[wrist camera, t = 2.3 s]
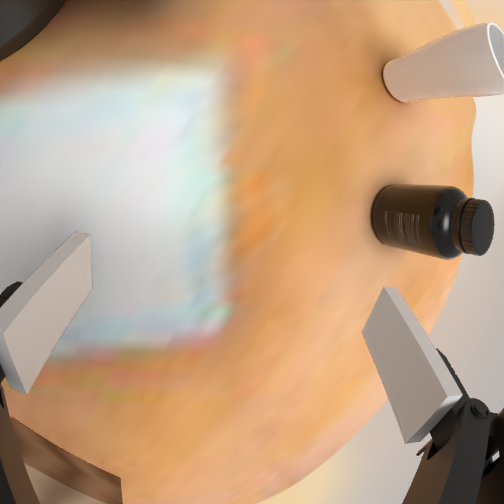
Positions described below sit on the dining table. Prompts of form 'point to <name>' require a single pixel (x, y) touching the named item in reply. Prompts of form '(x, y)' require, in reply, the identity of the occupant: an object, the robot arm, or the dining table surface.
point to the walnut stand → (63, 473)
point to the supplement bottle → (433, 220)
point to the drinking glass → (450, 66)
